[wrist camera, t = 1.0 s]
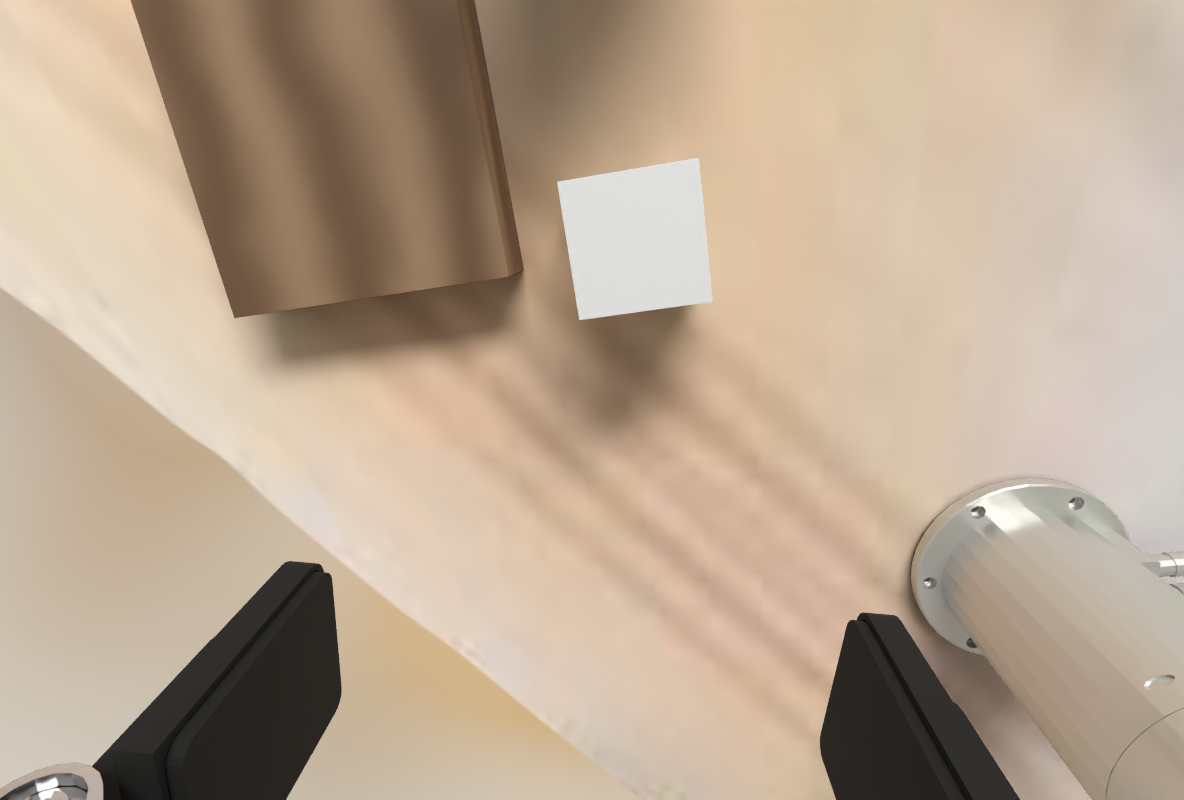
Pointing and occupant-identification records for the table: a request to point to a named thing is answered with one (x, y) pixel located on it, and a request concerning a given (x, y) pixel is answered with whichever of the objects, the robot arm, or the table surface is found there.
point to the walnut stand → (335, 145)
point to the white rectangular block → (637, 239)
